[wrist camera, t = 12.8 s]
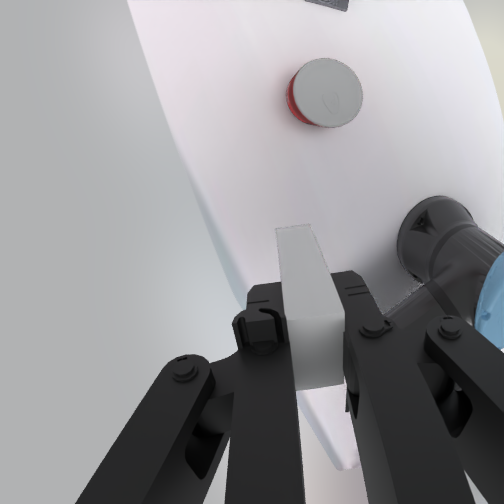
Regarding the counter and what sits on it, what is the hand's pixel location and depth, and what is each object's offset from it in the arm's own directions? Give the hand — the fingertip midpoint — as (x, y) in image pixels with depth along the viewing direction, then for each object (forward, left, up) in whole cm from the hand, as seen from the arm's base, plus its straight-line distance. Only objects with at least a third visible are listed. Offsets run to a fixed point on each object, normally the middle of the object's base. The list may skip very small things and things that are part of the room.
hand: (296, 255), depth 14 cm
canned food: (-7, -8, -33) cm, 34 cm away
